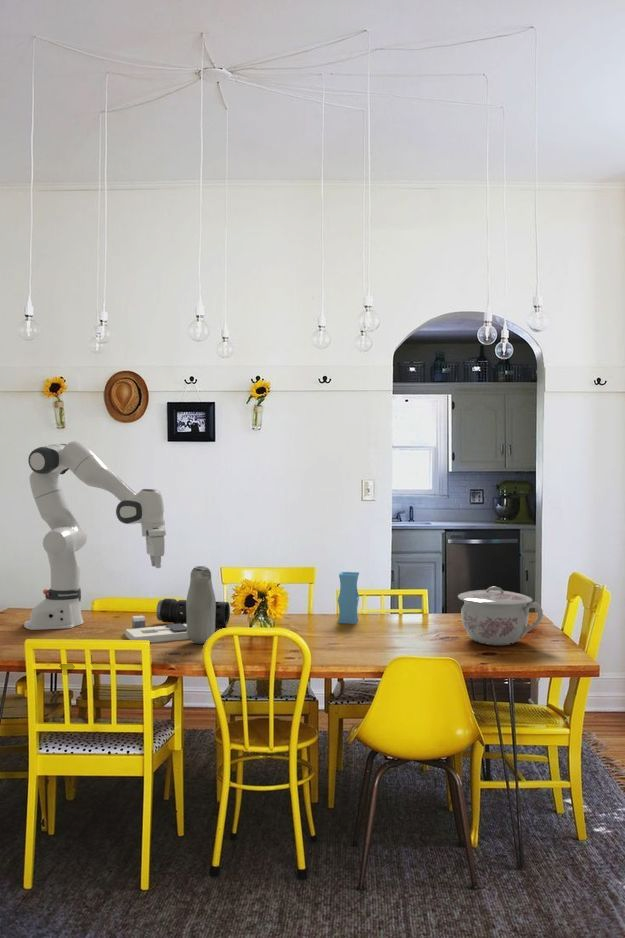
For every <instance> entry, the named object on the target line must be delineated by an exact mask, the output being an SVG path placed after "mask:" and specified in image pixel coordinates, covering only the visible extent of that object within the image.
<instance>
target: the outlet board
mask: <svg viewBox="0 0 625 938" xmlns="http://www.w3.org/2000/svg"><path fill="white" fill-rule="evenodd" d="M125 638H127V639H129V640H130V641H131V640H149V641H150V642H151V643H160V642H162V643H163V642H171V641H180V640H181V641H182V640H190V639H189V637H188V634H187V624H186V623H183V624H181V623H179V624H174V623H169V624H165V625H159V626H148V627H146V626H145V628H135V629H132V628H126V629H125ZM151 643H150V644H151Z"/></svg>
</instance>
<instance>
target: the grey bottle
mask: <svg viewBox="0 0 625 938" xmlns="http://www.w3.org/2000/svg"><path fill="white" fill-rule="evenodd" d="M189 576H190V580H189V581H190V582H189V587H188V589H187V590H188V591H187V595H186V600H187V601H186V613H187V634H188V637H189V639H188V640H190V641H191V642H192V643H194V644H197V645H205V644H206V643H205V642H206V640H207V639H208V638H209V637H210V636H211V635H212V634H213V633H214V634H215V631H216V626H215V611H216V602H217V601H216V594H215V590H214V588H213V587H214V586H213V581H212V572H211V570H210V568H209V567H207V566H204V565H203V566H202V565H197V566H195V567H193V568H192V570H191V572H190V575H189Z"/></svg>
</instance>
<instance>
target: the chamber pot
mask: <svg viewBox="0 0 625 938" xmlns="http://www.w3.org/2000/svg"><path fill="white" fill-rule="evenodd" d="M457 598H458V599H459V600H461V601H463V602H464V604H463V606H462V607H461V609H460V610H461V611H460V616H461V621H462V622H461V623H462V626H463V629H464V630H465V631H466V633H467V635H468V636H469V638H470V639H471V640H472V641H474V642H476V643H479V644H482V645H486V646H494V647H496V646H498V647H503V646H509V645H513V644H515V643H517V642H518V641H520V639H521V638H523V637H524V636H525V635H526V634H527V633H528V632H529V631H530V630H532V629H534V628H536V627H537V626H538V625H540V623H541V622H542V621H543V616H544V613H543V612H544V611H543V609H542V606H541V605H540V604H539V603H538V602H537V601H534V600H533V598H532V597H531V596H528V595H525V594H522V593H518V592H515V591H508V590H503V589H502V588H501V587H498V586H489V587H487V589H478V590H469V591H465V592H461V593H459V594H458V595H457ZM532 608H533V609H536V610H537V618H536V620H535V621H534V622H533V624H530V625H528V622H529V615H530V611H529V610H530V609H532ZM477 641H478V642H477ZM481 642H482V643H481ZM514 642H515V643H514ZM487 643H489V644H487ZM508 643H512V644H508Z"/></svg>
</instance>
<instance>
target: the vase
mask: <svg viewBox="0 0 625 938" xmlns="http://www.w3.org/2000/svg"><path fill="white" fill-rule="evenodd" d="M359 575H360V572H357V571H340V572H339V573H338V578H339V583H340V584H339V588H340V589H339V594H338V597H337V603H338V609H339V613H338V619H337V620H338V621H337V624H350V625H351V624H353V625H354V624H356V625H357V624H358V622H359V615H358V606H359V601H360V595H359V592H358V591H359V590H358V580H359Z"/></svg>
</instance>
